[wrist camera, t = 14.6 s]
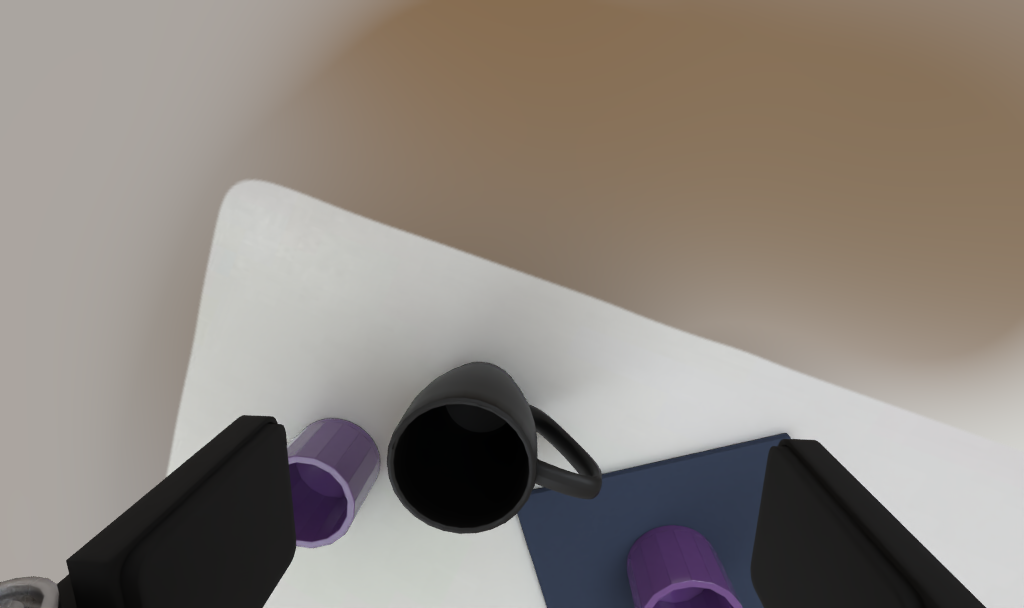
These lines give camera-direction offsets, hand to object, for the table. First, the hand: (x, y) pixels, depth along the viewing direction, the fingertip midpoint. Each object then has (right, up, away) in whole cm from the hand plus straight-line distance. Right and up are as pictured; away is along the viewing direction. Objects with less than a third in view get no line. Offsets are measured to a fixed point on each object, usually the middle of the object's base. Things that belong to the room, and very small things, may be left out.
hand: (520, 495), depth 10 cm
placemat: (+12, -15, +30) cm, 35 cm away
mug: (-1, -4, +28) cm, 28 cm away
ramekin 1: (-13, -8, +29) cm, 33 cm away
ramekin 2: (+12, -16, +29) cm, 35 cm away
